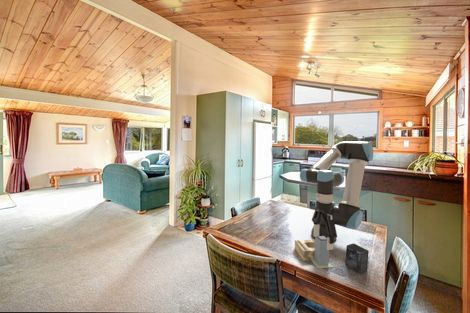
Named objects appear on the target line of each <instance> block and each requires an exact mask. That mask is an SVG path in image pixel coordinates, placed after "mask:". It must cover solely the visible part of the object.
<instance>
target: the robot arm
mask: <svg viewBox="0 0 470 313" xmlns="http://www.w3.org/2000/svg"><path fill="white" fill-rule="evenodd" d="M342 159H345V160H347V162H348V164H349V165H348V170H347V175H346V180H345V177H344V174H343V173H342V172H340V171H333V170H330V167H331V166H332V165H334V163H335V162H337V161H338V162H339V161H340V160H342ZM373 160H374V148H373V144H372V143H371V142H370V141H359V140H358V141H353V140H350V141H348V140H347V141H345V140H344V141H339V142H336V143H335V144H333V145H331V146H330V147H329V148H327V150H326V153H325V154H324V155H322V156H321V158H319V159H318V160H317V161H316V162H315V163H314V164H313V165H311V166H310V167H309V168H302V169H301V170H300V172H299V179H300V181H301V182H304V183H307V184H308V183H309V184H316V195H315V197H316V201H315V206H314V207H315V208H314V212H313V215H312V218H311V222H312V223H313V227H312V228H311V232H310V233H311V237H312V238H313V239H315V237H317V236H324V237H326V238H327V250H329V251H330V250H331V251H332V250H334V241H336V240H337V238H338V234H337V233H338V232H337V229H336V226H338V227H343V228H345V229H351V230H357V229H358V228H359V227H361V224H362V222H363V218H364V212H363V210H361V209H362V208H361V206H360V205H359V202H360V196H361V190H362V184H363V179H364V173H365V169H366V166H368V165H369V162H371V161H373ZM344 181H345V184H344V185H345V186H344V192H343V196H342V200H341V201H339V203H338V205H337V204H336V201H334V188H336V187H340V186H341V185H342V184H343V183H344Z"/></svg>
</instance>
